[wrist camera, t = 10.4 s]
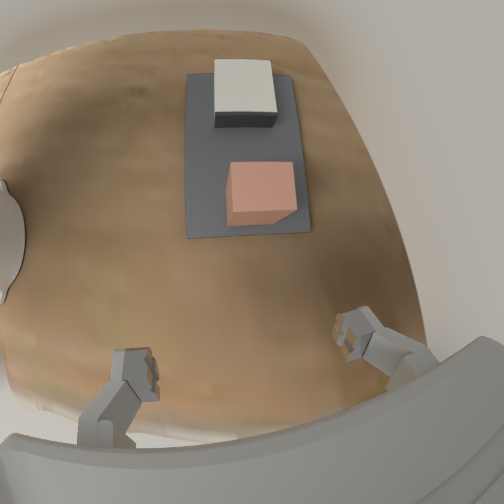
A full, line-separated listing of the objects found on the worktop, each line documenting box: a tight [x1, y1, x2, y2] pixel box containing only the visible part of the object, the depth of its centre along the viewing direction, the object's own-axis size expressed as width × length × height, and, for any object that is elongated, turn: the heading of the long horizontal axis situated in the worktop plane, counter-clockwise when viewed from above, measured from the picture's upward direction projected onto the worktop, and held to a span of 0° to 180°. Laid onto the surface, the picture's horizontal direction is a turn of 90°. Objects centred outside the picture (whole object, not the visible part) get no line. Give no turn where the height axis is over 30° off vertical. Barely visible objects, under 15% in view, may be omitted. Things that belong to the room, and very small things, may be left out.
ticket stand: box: [185, 59, 311, 239], centre depth 29 cm, size 14×22×5 cm, turn 4°
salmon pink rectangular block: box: [226, 162, 297, 227], centre depth 25 cm, size 5×4×9 cm
